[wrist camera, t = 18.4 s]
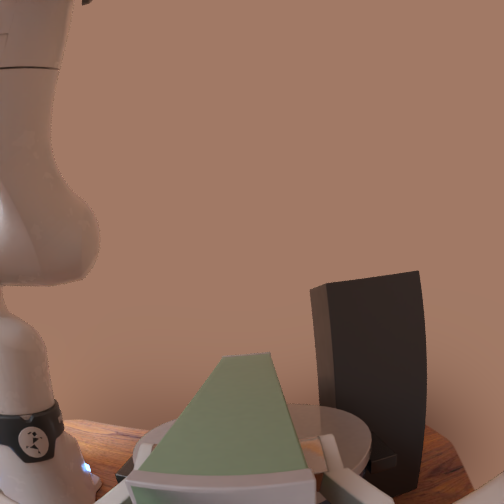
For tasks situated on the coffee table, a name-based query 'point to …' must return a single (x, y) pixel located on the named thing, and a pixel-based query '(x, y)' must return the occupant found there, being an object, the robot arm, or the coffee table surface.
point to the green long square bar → (229, 445)
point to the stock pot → (308, 425)
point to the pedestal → (376, 364)
